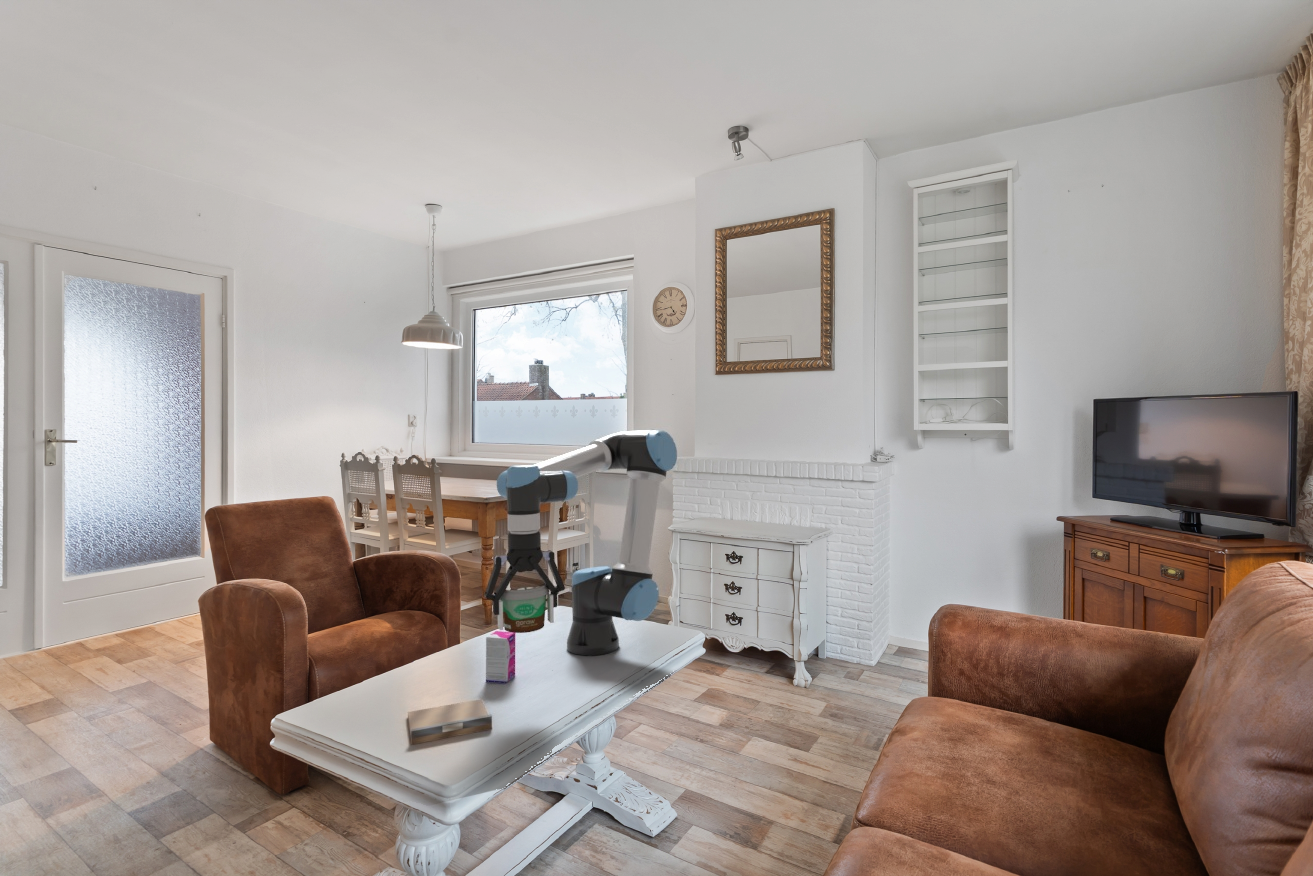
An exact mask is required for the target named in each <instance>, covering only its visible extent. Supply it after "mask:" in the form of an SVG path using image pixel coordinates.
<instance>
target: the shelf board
mask: <svg viewBox="0 0 1313 876" xmlns="http://www.w3.org/2000/svg"><path fill="white" fill-rule="evenodd" d="M407 719H408V727H409V735H410V743H411V744H410V745H416V744H422V743H426V742H432V741H437V740H442V739H447V738H452V737H457V736H462V735H467V734H473V733H478V732H483V731H488V730H492V729H493V716H492V714H491V713H490V714H489V713H488V711H487V708H486V706H485V703H484V702H483V698H480V699H479V698H478V699H475V700H469V701H464V702H459V703H458V702H457V703H451V704H447V705H440V706H435V707H429V708H423V709H418V710H412V711H408V712H407Z"/></svg>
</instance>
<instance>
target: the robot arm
mask: <svg viewBox="0 0 1313 876" xmlns="http://www.w3.org/2000/svg"><path fill="white" fill-rule="evenodd" d="M677 460H678V450H677V445H676V443H675V440H674V438H673V436H672V435H671V434H669V433H668V432H667V431H665V430H660V429H659V430H658V429H656V430H655V429H646V430H644V429H643V430H622V431H618V432H615V433H612V434H608V435H606V436H602V437H601V438H598V439H595V440H593V441H591V442H590V443H589V444H588V445H587V446H585V447H582V448H579V449H576V450H573V451H570V452H567V453H565V454H562V455H559V456H556V457H553V458H550V459H547V460H545V461H541V462H539V463H536V464H525V465H522V464H521V465H510V467H508V468H507V470H504V471H502V472H501V473H500V474H499V475H498V477H497V479H496V489H497V492H498V494H499V496H501V497H502V498H504V499H506V506H507V507H506V508H507V509H506V510H507V531H508V534H507V553H506V555H498V554H496V555H494V557H493V568H492V570H491V573H490V576H489V579H488V582H487V585H486V588H485V591H484V594H483V596H484V598H485V599H486V600H489V601H492V613H493V615H494V616H497V617H496V618H497V628H498V630H499V631H503V630H504V621H503V601H502V600H501V596H502V594H503V593H504V591H505V590H507V588H508V586H509V584H510V583H511V582H512V579H513V577H515V576H516V574H517V573H524V572H533V571H534V572H535V573H536V574H537V575H538V576H539V578H540V579H541V580H542V582H543V583H544V585H545V584H546V585H547V587H548V588H549V593H548V594H547V595H546V605H547V621H548V622H549V623H550V624H553V623H555V620H554V619H555V617H554V612H555V611H554V609H555V608H557V607H558V594H559V593H560V592H562V591H565V589H566V587H565V584H564V582H563V579H562V577H561V573H560V572H559V569H558V566H557V564H556V561H555V555H556V554H555V552H554V551H552V550H550V549H549V550H547V551H542V546H541V545H542V543H541V541H542V540H541V535H542V534H541V532H540V531H539V530H540V529H541V504H548V503H549V504H550V503H558V502H559V503H560V502H562V503H563V502H566V501H570V500H572V499H573V498H574V497H576V496H577V493H578V491H579V484H578V483H579V481H578V478H581V477H584V476H587V475H590V474H591V473H595V472H599V473H604V472H606V471H610V470H626V472H625V473H626V475H627V476H628V477H629V479H630V481H629V488H628V493H627V501H626V509H625V515H624V520H623V521H624V522H623V528H622V534H621V535H622V537H621V542H620V548H619V550H620V551H619V554H618V562H617V563H616V564H614V565H613V566H612V567H610V566H607V565H606V566H605V565H604V566H603V565H602V566H594V567H587V568H582V569H579V570H575V571H574V572H573V574H572V577H571V581H572V582H571V585H570V586H571V607H572V622H571V625H570V629H569V633H568V635H567V639H566V650H567V651H568V652H570V653H572V654H575V655H580V656H599V655H606V654H610V653H612V652H614V651H617V650H618V649H619V647H620V646H619V645H620V643H619V642H620V639H619V635H618V633H617V629H616V626H615V624H614V620H613V617H614V618H617V619H618V618H619V619H622V620H623V619H624V620H625V621H635V622H641V621H644V620H646V619H647V618H649V617H650V616H651V614H652V613H653V612H654V610H655V608H656V607H657V604H658V601H659V600H658V599H659V593H660V591H659V588H658V587H659V586H658V585H657V582H655V580H653V574H654V573H653V571H652V570H651V569H650V567H649V564H650V556H651V550H652V542H653V536H654V527H655V520H656V512H657V506H658V501H659V499H658V498H659V491H660V485H661V482H663V481H664V480H666V478H667V472H668V471H670V470H672V469H674V467H675V466H676V463H677ZM543 558H544V561H547V564H548V567H549V569H550V572H551V574H552V577H553V579H554V583H555V584H556V585H554V584H553V583H552V581H551V580H550V578H549V577H548V576H547V574H546V573H545V572H544V570H543V568H542V567H541V565H540V564H539V563H541V561H542V559H543ZM506 561H507V562H508V564H509V566H508V568H507V570H506V572H505V574H504V576H503V578H502V579H501V581H500V583H499V584H498V586H497V587H496V584H497V583H498V579H499V576H500V573H501V571H502V566H503V565H505V562H506ZM495 587H496V589H495Z"/></svg>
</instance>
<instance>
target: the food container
mask: <svg viewBox="0 0 1313 876" xmlns="http://www.w3.org/2000/svg"><path fill="white" fill-rule="evenodd" d="M548 593H550V590H549V588H548V587H547V585H546V584H545V583H544V585H541V586H540V585H538V586H522V587H518V588H514V589H505V591H504V593H503V594H502V596H501V598H500V599H501V600H502V601H503V629H504V630H505V632H513V633H515V634H524V633H532V632H533V633H534V632H537V631H540V630H541V629H543V628H544V627H545V620H546V605H547V594H548Z"/></svg>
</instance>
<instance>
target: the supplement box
mask: <svg viewBox="0 0 1313 876" xmlns="http://www.w3.org/2000/svg"><path fill="white" fill-rule="evenodd" d="M485 641H486V642H485V683H491V684H508V682H509V681H510V680H512V679H513V678H514V677H515V676H516V633H513V632H508V631H503V630H499V631H498V630H496V631H494V632H492V633H490V634H489V635H488V636H486V637H485Z"/></svg>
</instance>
